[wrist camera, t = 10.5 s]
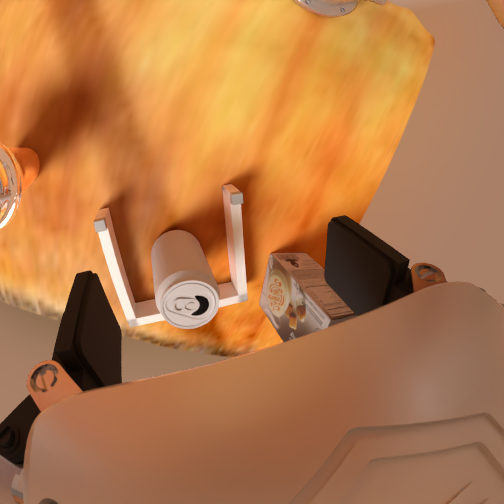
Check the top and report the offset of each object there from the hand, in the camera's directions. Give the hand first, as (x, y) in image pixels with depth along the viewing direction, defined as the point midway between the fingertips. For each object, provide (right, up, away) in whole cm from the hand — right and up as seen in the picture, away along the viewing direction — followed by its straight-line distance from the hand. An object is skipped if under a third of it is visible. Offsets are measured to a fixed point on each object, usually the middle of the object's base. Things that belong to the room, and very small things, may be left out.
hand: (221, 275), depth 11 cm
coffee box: (+6, -3, +33) cm, 34 cm away
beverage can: (-9, +1, +25) cm, 27 cm away
